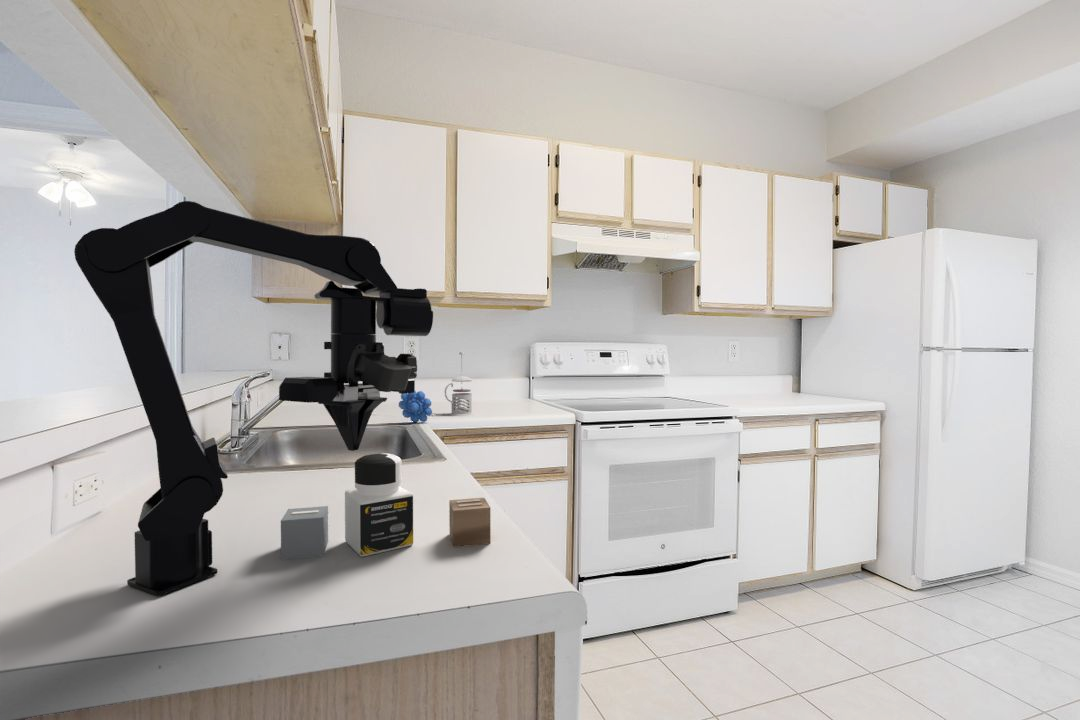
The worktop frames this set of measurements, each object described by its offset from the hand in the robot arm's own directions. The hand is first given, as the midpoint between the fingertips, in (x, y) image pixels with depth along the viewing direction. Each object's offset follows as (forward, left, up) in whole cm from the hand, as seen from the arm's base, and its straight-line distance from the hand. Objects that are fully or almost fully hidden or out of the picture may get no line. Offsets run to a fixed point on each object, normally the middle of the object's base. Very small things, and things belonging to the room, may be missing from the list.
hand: (353, 450), depth 71 cm
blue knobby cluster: (+94, +67, -13) cm, 116 cm away
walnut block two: (+9, -13, -13) cm, 20 cm away
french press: (+121, +67, -13) cm, 139 cm away
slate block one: (-4, +4, -13) cm, 14 cm away
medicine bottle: (+2, -3, -13) cm, 13 cm away
